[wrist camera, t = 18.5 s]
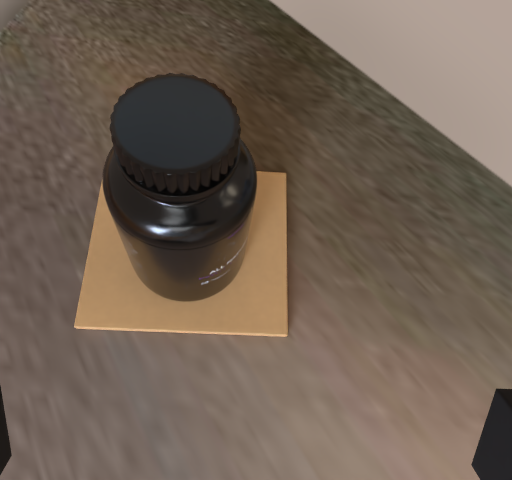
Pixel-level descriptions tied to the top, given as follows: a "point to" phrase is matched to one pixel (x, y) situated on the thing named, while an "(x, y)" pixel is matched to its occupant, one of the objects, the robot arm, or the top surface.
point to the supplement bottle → (180, 185)
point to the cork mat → (202, 311)
